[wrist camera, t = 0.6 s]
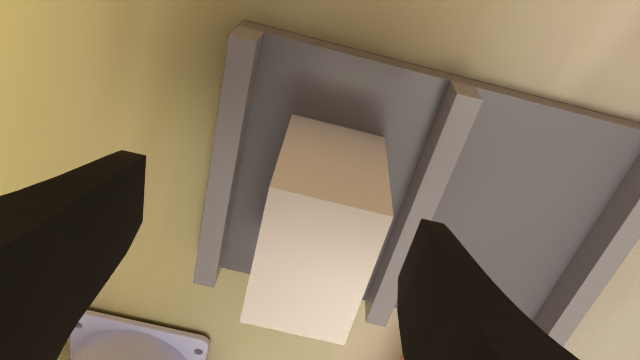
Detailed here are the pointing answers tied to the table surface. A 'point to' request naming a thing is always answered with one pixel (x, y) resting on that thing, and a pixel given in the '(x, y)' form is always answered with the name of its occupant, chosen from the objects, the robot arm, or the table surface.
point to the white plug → (319, 231)
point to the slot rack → (433, 170)
